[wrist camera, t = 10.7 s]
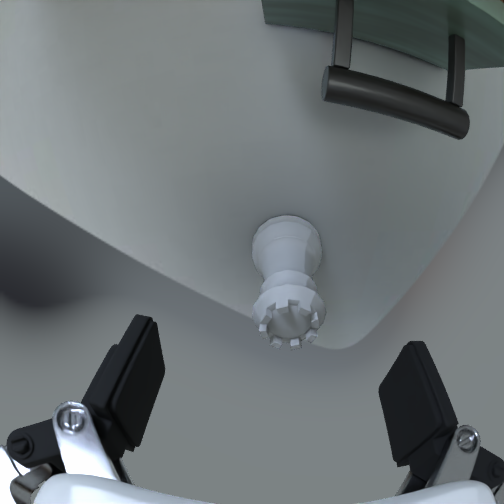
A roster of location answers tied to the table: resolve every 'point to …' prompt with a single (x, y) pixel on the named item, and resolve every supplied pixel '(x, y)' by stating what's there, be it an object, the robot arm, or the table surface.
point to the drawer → (403, 50)
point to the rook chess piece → (287, 281)
